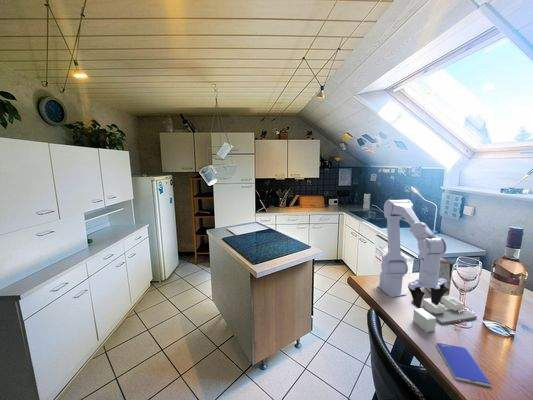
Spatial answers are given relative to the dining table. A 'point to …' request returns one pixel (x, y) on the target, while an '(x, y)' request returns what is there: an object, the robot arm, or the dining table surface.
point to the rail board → (446, 310)
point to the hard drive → (462, 364)
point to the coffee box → (445, 273)
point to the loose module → (424, 319)
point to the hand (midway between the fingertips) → (425, 304)
